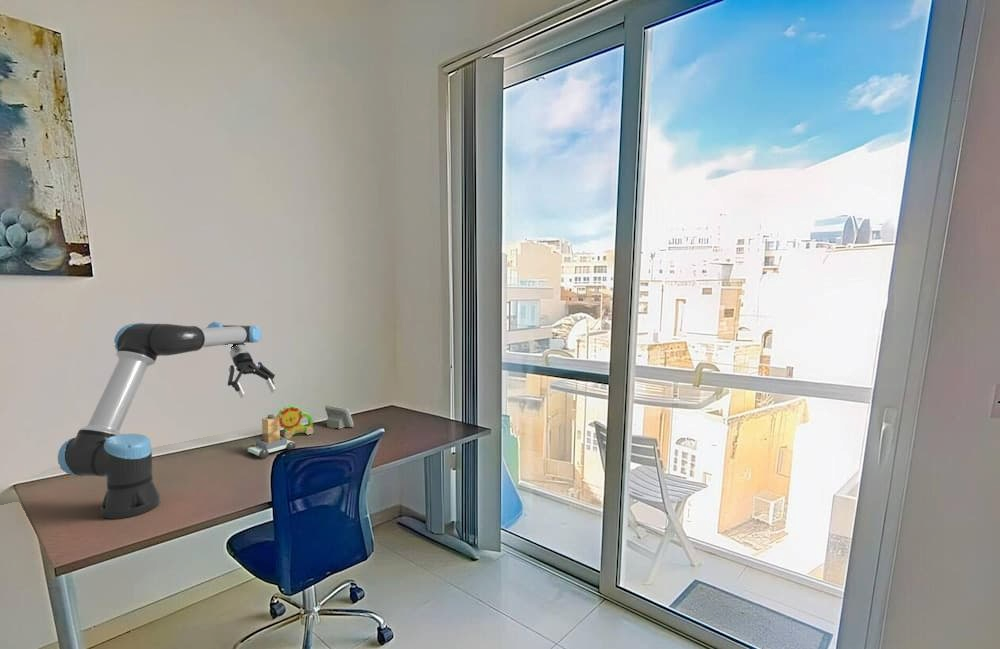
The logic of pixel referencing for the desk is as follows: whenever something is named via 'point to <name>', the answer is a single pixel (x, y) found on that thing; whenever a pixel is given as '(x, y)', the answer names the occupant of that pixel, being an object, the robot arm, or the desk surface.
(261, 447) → the chassis
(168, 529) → the desk surface
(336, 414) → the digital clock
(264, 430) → the tall wooden block
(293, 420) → the toy lion
